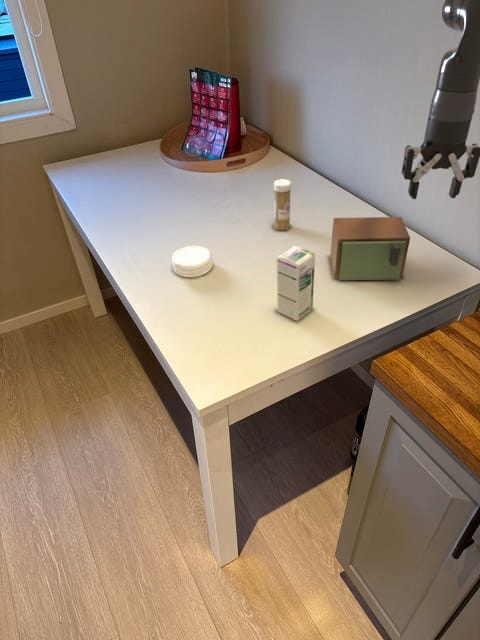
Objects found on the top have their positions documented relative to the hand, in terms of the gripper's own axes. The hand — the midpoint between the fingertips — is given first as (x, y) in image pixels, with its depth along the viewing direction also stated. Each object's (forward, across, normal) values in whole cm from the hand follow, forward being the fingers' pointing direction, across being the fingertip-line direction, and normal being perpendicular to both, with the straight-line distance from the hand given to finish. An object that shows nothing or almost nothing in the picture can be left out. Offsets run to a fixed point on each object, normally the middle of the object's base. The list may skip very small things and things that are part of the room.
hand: (432, 196), depth 100 cm
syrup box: (+22, +28, +10) cm, 37 cm away
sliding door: (+21, +10, 0) cm, 24 cm away
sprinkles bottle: (+22, +30, -28) cm, 47 cm away
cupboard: (+22, +10, -7) cm, 25 cm away
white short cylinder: (+22, +53, -8) cm, 58 cm away
